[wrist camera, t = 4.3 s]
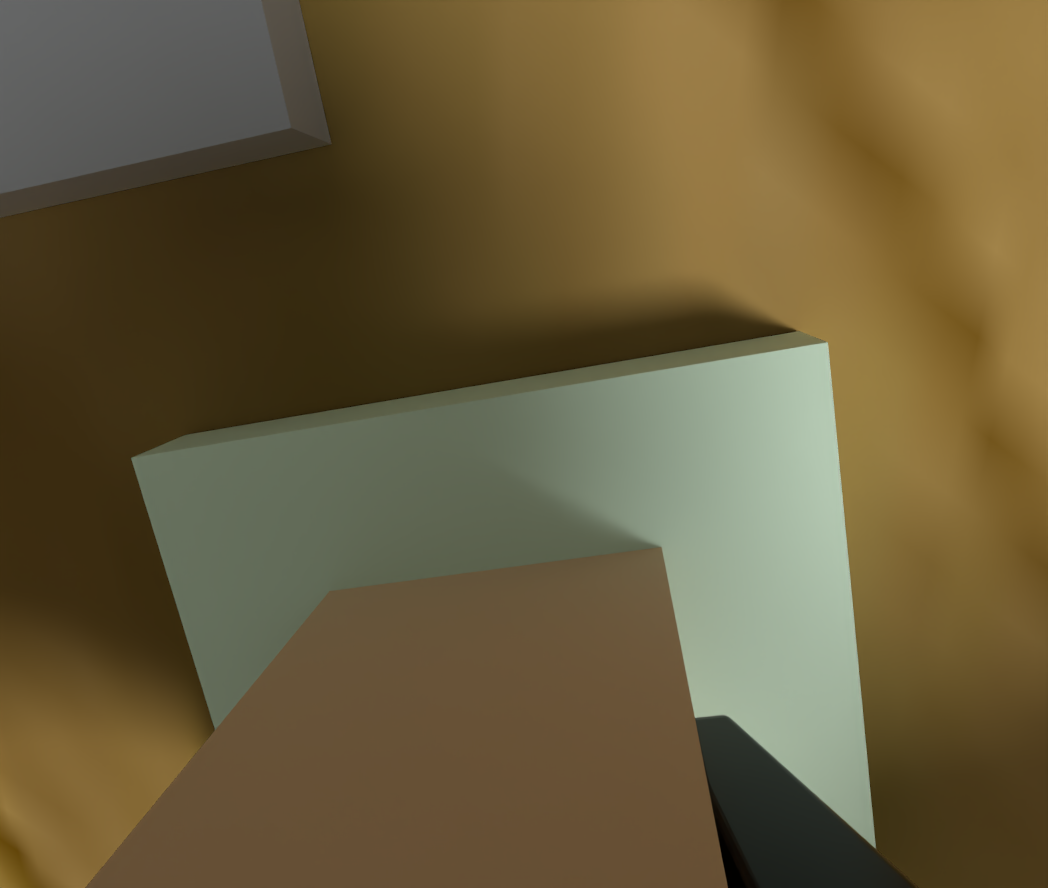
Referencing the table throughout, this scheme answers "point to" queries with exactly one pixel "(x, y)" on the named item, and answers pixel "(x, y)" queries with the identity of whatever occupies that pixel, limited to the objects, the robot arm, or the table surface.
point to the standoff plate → (147, 93)
